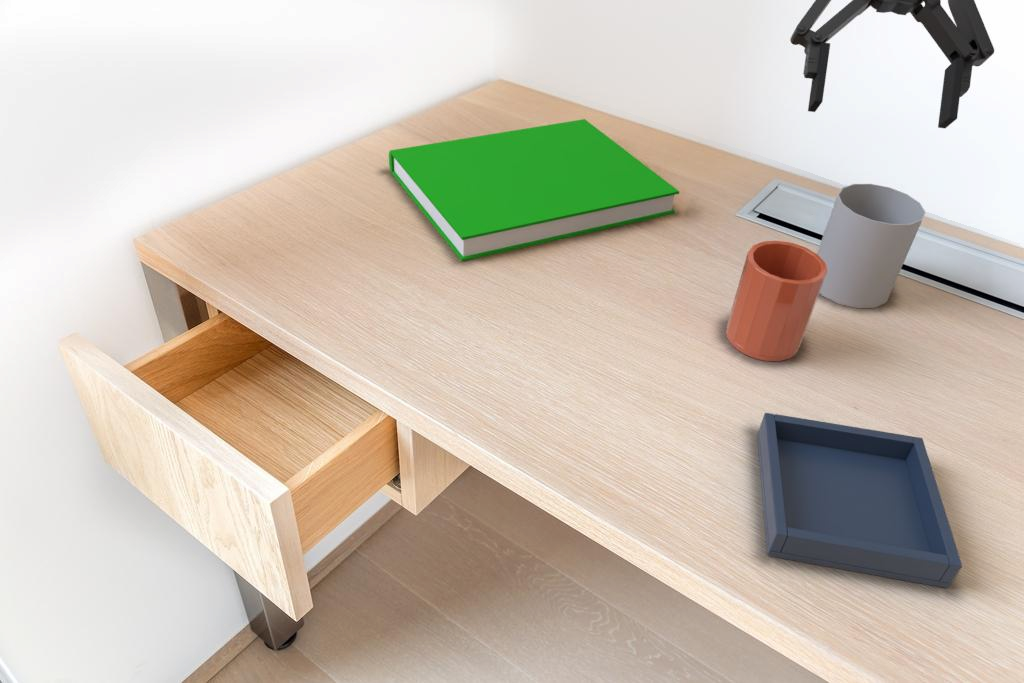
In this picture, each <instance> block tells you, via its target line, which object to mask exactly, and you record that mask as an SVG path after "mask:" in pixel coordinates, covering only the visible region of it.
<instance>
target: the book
mask: <svg viewBox="0 0 1024 683" xmlns="http://www.w3.org/2000/svg"><path fill="white" fill-rule="evenodd" d="M388 167H389V170H390V173H391V174H392V176H393V177H394V178H395V179H396V181H397V182H398V184H400V186H401V187H402V189H403V190H404V191H405V192H406V193H407V194H408V196H409V197H410V198H411V200H412V201H413V202H414V204H416V206H417V207H418V208H419V210H420V211H421V212H422V214H423V215H424V216H425V218H426V219H427V220H428V221H429V222H430V223H431V225H432V226H433V227H434V228H435V230H436V231H437V233H439V235H440V236H441V237H442V239H443V240H444V241H445V242H446V244H447V245H448V246H449V247H450V249H451V250H452V251H453V252H454V254H455V255H456V256H457V257H458V259H459V260H460V262H465V261H471V260H474V259H479V258H483V257H484V258H485V257H489V256H492V255H497V254H501V253H505V252H509V251H510V252H511V251H515V250H519V249H524V248H527V247H528V248H529V247H532V246H537V245H540V244H546V243H550V242H555V241H558V240H563V239H568V238H572V237H577V236H581V235H585V234H586V235H587V234H590V233H595V232H599V231H603V230H608V229H613V228H617V227H622V226H625V225H629V224H634V223H639V222H644V221H647V220H652V219H658V218H661V217H666V216H671V215H675V213H676V210H675V209H673V203H674V199H675V196H676V195H679V194H680V190H679V189H677V188H676V187H674V186H673V185H672V184H671V183H669V182H668V181H667V180H665V179H664V178H662V177H661V176H660V175H659V174H658V173H656V172H655V171H654V170H652V169H651V168H650V167H648V166H647V165H646V164H644V163H643V162H642V161H640V160H639V159H638V158H637V157H635V156H634V155H632V154H631V153H630V152H629V151H627V150H626V149H624V148H623V147H622V146H621V145H619V144H618V143H617V142H616V141H614V140H613V139H612V138H610V137H609V136H607V135H606V134H605V133H604V132H603V131H601V130H600V129H599V128H597V127H596V126H594V125H593V124H592V123H590V122H589V121H588V119H587V120H586V118H583V119H576V120H570V121H564V122H558V123H551V124H546V125H539V126H533V127H527V128H526V127H525V128H521V129H514V130H507V131H502V132H501V131H500V132H495V133H490V134H483V135H477V136H471V137H465V138H459V139H452V140H446V141H440V142H434V143H426V144H420V145H415V146H409V147H408V146H407V147H402V148H397V149H390V150H389V152H388Z"/></svg>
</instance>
